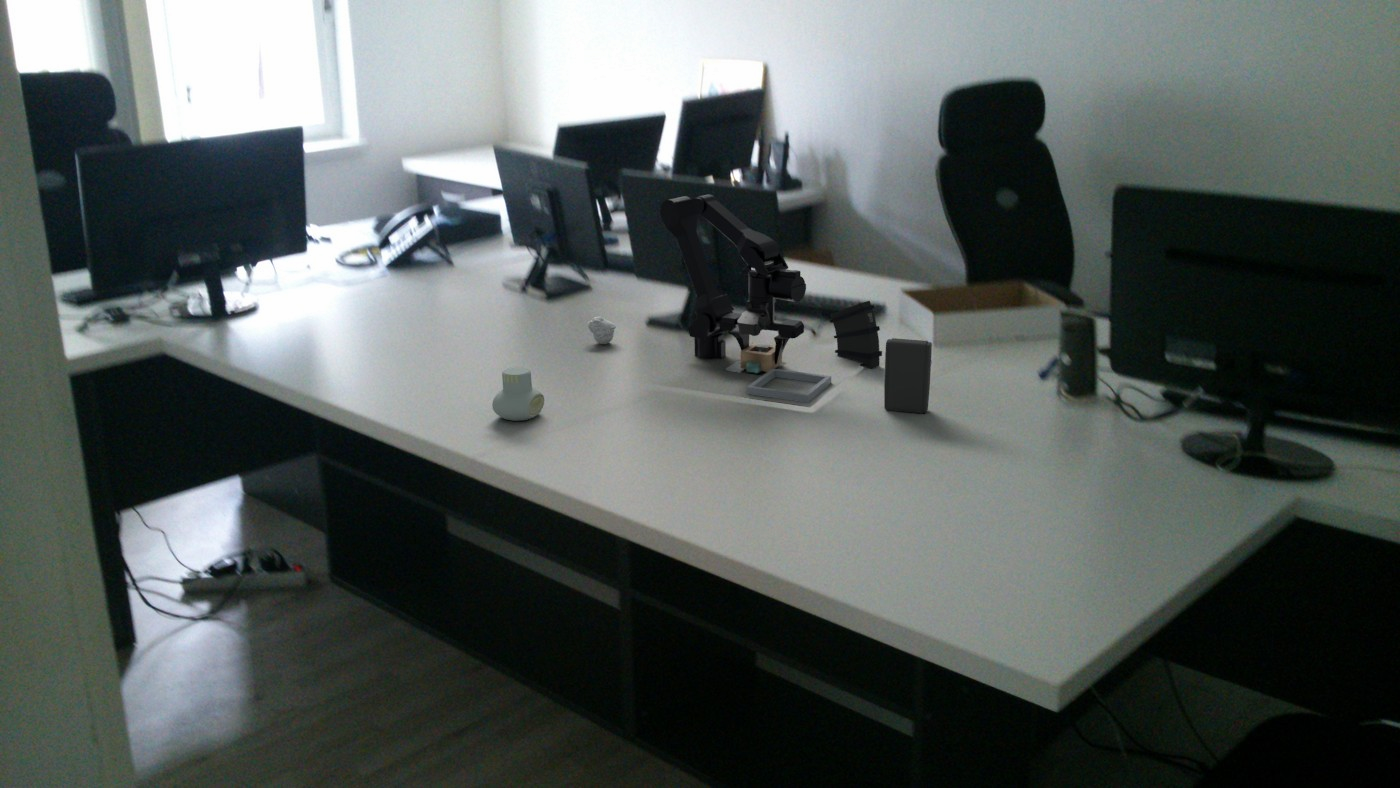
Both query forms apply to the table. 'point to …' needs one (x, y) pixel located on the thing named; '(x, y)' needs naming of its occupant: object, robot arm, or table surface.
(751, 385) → the tray
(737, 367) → the stake stand
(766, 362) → the light brown open box
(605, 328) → the grey lumpy chunk
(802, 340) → the table surface
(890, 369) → the card reader
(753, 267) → the robot arm
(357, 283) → the table surface
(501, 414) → the air freshener
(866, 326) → the magazine
